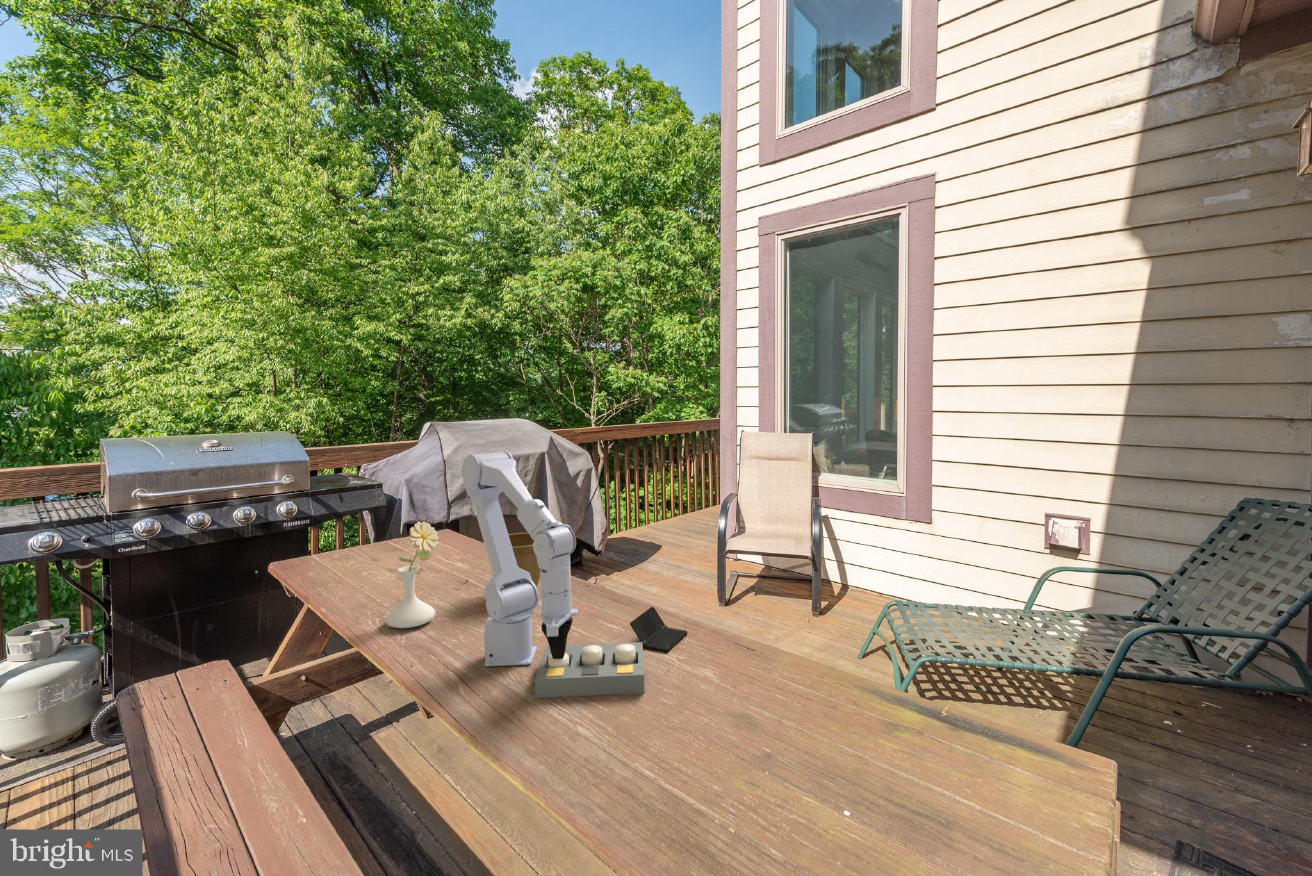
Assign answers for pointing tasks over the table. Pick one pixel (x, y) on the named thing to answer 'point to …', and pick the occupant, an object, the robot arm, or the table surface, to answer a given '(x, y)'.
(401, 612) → the flower in vase
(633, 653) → the button right
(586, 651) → the button middle
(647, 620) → the handheld gaming console
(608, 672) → the button board
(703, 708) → the table surface
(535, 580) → the plant pot
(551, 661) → the button left
